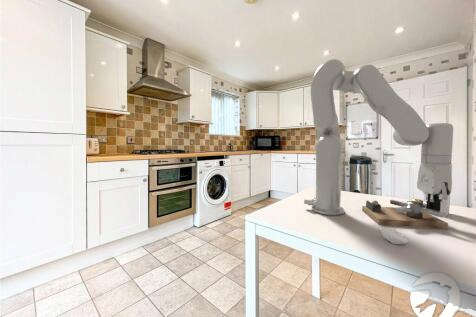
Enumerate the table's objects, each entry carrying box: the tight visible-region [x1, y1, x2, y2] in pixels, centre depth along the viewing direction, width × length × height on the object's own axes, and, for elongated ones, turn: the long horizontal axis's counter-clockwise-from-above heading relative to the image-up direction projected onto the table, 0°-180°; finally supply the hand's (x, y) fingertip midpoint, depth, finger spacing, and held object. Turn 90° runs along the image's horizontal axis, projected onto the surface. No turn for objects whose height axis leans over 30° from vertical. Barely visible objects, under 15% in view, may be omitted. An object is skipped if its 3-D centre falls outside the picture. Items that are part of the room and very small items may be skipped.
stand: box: [361, 199, 449, 230], centre depth 76 cm, size 20×15×6 cm
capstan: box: [389, 198, 446, 219], centre depth 72 cm, size 16×16×6 cm
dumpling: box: [380, 226, 409, 245], centre depth 58 cm, size 7×5×4 cm
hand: (432, 212), depth 71 cm, fingers closed
